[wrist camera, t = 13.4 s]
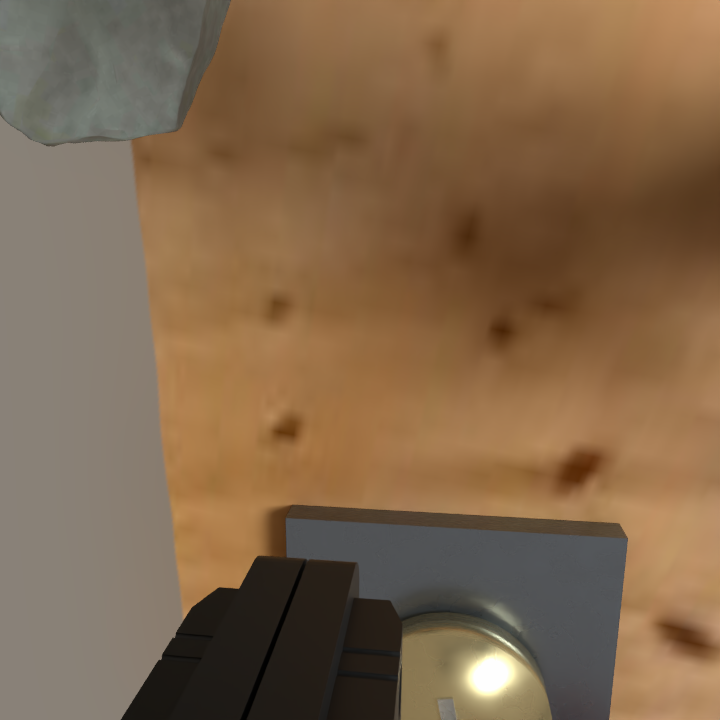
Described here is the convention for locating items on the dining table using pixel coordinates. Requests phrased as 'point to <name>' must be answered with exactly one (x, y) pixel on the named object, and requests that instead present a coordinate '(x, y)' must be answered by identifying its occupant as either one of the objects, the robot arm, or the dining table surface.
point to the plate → (491, 583)
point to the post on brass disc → (468, 672)
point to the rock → (103, 65)
